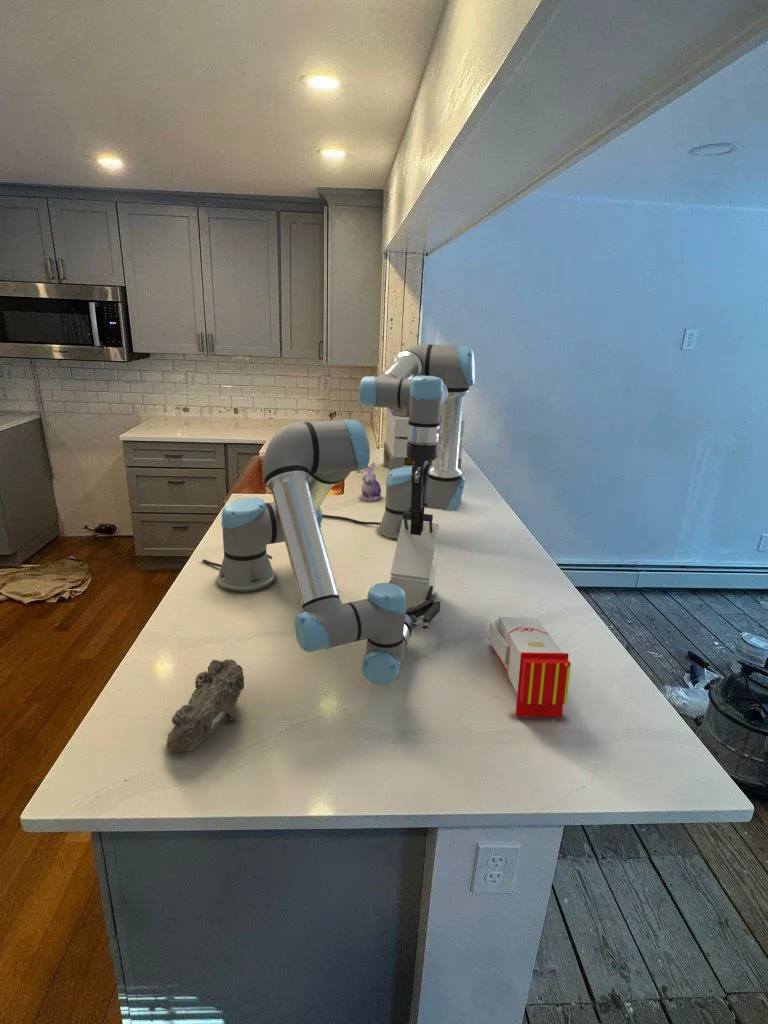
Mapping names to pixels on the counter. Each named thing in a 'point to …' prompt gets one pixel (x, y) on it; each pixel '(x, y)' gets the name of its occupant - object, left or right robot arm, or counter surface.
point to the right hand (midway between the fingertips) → (416, 532)
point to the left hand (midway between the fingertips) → (411, 588)
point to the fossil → (206, 705)
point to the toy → (531, 665)
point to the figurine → (370, 485)
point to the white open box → (416, 587)
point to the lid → (415, 549)
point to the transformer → (403, 439)
